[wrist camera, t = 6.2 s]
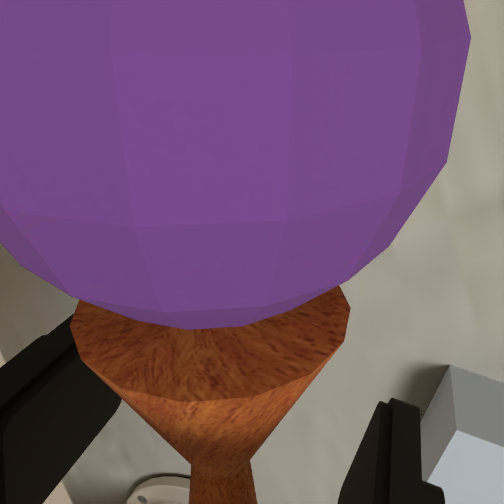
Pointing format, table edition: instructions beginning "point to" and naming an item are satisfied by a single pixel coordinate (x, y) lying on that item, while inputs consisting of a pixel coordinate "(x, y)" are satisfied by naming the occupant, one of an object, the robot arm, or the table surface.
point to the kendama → (218, 190)
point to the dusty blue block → (465, 438)
